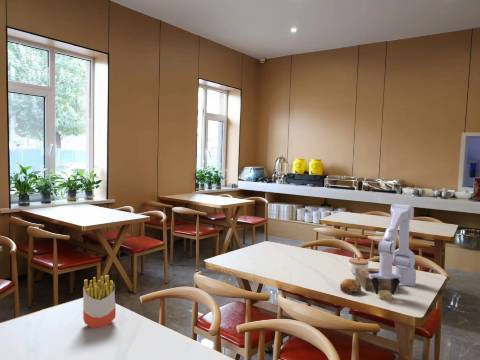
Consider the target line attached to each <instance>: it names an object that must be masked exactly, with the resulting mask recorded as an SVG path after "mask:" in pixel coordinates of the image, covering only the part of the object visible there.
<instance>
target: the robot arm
mask: <svg viewBox="0 0 480 360" xmlns="http://www.w3.org/2000/svg"><path fill="white" fill-rule="evenodd" d="M414 209H415V208H414V206H413V205H412V204H401V203H395V202H394V203H392V204H391V206H390V215H391V220H390V224H389V227H387V228H386V229H385V232H384V235H383V237H382V240H380V241H379V242H378V246H377V249H378V255H379V264H378V265H379V266H378V269H379V273H375V274H369V278H370V279H371V280H372V283H373V286H374V290H375V291H374V290H373V291H374V293H375V295H379V291H378V286H379V281H378V279H391V291H390V292H391V293H392V296H394V295H395V293H396V291H395V290H396V288H397V289H398V286H401V287H404V286H408V287H410V286H411V287H416V286H417V284H416V280H417V271H416V268H415V264H416V263H415V262H416V258H415V252H413V251H412V250H411V249H410V248H409V247H410V245H409V244H410V220H414V212H415V210H414ZM398 229H399V231H398ZM397 239H398V248H397V249H396V245H397V243H396V242H397ZM393 265H394V267H395V273H393Z"/></svg>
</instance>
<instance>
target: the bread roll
mask: <svg viewBox="0 0 480 360" xmlns="http://www.w3.org/2000/svg"><path fill="white" fill-rule="evenodd" d="M339 289H340V291H341V293H344V294H345V295H346V294H347V295H352V296H353V295H354V296H356V295H359V294H360V293H361V291H362V286H361V285H360V284H359V282H358V281H356V280H355V278H354V279H353V278H345V279H344V280H342V281H341V282H340V288H339Z"/></svg>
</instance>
